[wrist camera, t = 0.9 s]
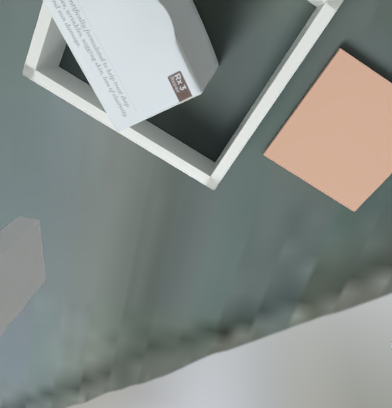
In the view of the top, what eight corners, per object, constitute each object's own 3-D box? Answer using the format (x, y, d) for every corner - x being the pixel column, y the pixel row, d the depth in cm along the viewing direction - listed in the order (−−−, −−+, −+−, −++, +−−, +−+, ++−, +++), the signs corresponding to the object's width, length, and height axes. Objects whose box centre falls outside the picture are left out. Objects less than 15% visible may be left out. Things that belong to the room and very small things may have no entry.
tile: (263, 152, 34) (263, 154, 34) (338, 48, 29) (340, 48, 29) (352, 209, 35) (354, 211, 35) (440, 117, 30) (443, 118, 30)
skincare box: (126, 7, 30) (25, -15, 17) (186, -29, 28) (125, -85, 15) (168, 97, 33) (110, 137, 20) (225, 69, 31) (203, 94, 18)
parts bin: (46, 70, 34) (22, 74, 30) (118, -150, 26) (96, -180, 22) (218, 175, 36) (214, 190, 32) (334, 1, 28) (346, -4, 24)
